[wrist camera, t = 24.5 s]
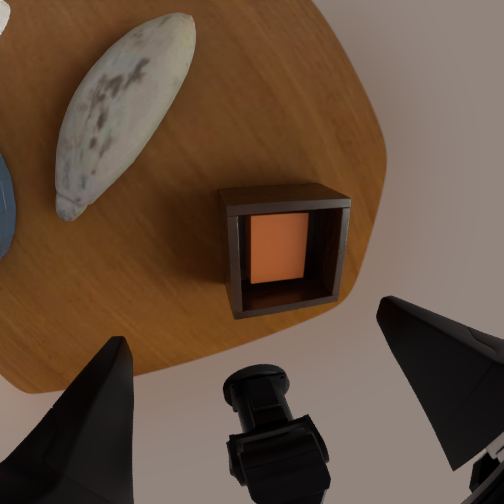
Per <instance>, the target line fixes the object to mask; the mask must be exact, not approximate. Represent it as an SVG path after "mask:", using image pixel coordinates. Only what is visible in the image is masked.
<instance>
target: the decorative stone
mask: <svg viewBox="0 0 504 504" xmlns="http://www.w3.org/2000/svg"><path fill="white" fill-rule="evenodd" d="M195 43H196V29H195V23H194V21H193V19H192V16H190V15H187V14H184V13H170V14H167V15H163V16H159V17H157V18H154V19H152V20H150V21H147V22H145V23H143V24H141V25H139V26H137V27H135V28H134V29H132V30H131V31H129V32H128V33H126V34H125V35H124V36H123V37H122V38H121V39H119V40H118V41H117V42H116V43H115V44H113V45H112V46H111V47H110V48H109V49H108V50H107V51H106V52H105V53H104V55H103V56H102V57H101V58H100V59H99V60H98V61H97V62H96V63H95V64H94V65H93V67H92V68H91V69H90V70H89V72H88V73H87V74H86V76H85V77H84V79H83V80H82V82H81V84H80V85H79V87H78V88H77V90H76V91H75V93H74V95H73V97H72V99H71V101H70V104H69V106H68V108H67V111H66V114H65V117H64V119H63V123H62V126H61V129H60V132H59V140H58V144H57V149H56V169H55V187H56V190H57V195H56V211H57V214H58V216H59V217H60V218H61V219H62V220H64V221H74V220H75V219H76V218H77V217H78V216H80V215H81V214H82V213H83V212H84V211H85V209H86V208H87V205H89V204H92V203H94V202H95V200H96V199H97V198H98V197H100V196H101V194H102V193H104V192H105V190H106V189H107V188H108V187H109V186H110V185H112V184H113V183H114V182H115V181H116V180H117V179H118V178H119V177H120V176H121V175H122V174H123V173H124V172H125V171H126V170H127V168H128V167H129V166H130V165H131V164H132V163H133V162H134V160H135V159H136V158H137V156H138V155H139V154H140V152H141V151H142V150H143V148H144V147H145V145H146V144H147V142H148V141H149V139H150V138H151V137H152V135H153V133H154V132H155V130H156V129H157V127H158V126H159V124H160V122H161V121H162V119H163V118H164V116H165V114H166V113H167V111H168V109H169V107H170V106H171V104H172V102H173V100H174V99H175V97H176V95H177V93H178V91H179V89H180V87H181V85H182V83H183V81H184V79H185V77H186V75H187V72H188V69H189V67H190V64H191V61H192V58H193V54H194V49H195Z"/></svg>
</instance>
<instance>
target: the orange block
mask: <svg viewBox="0 0 504 504" xmlns="http://www.w3.org/2000/svg"><path fill="white" fill-rule="evenodd" d="M308 218H309V212H307V211H306V210H297V211H284V212H272V213H260V214H249V215H245V271H246V273H247V276H248V278H249V280H250V283H251V284H254V283H262V282H270V281H278V280H286V279H294V278H301V277H303V274H304V265H305V254H306V243H307V231H308Z"/></svg>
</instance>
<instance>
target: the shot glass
mask: <svg viewBox="0 0 504 504" xmlns="http://www.w3.org/2000/svg"><path fill="white" fill-rule="evenodd" d="M10 11H11V10H10V6H9V5H8V4H7V3H6V2H5V1H4V0H0V35H1V34H2V32H3V31H4V28H5V26H6V24H7V22H8V20H9V16H10Z"/></svg>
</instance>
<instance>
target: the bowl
mask: <svg viewBox="0 0 504 504" xmlns="http://www.w3.org/2000/svg"><path fill="white" fill-rule="evenodd" d="M15 218H16V202H15V197H14V192H13V186H12V180H11V175H10V173H9V171H8V169H7V166H6V164H5V162H4V160H3V157H2V155H1V154H0V260H1V259H2V258H3V257H4V256H5V255H6V254H7V253H8V251H9V248H10V245H11V242H12V239H13V236H14V233H15Z"/></svg>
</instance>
